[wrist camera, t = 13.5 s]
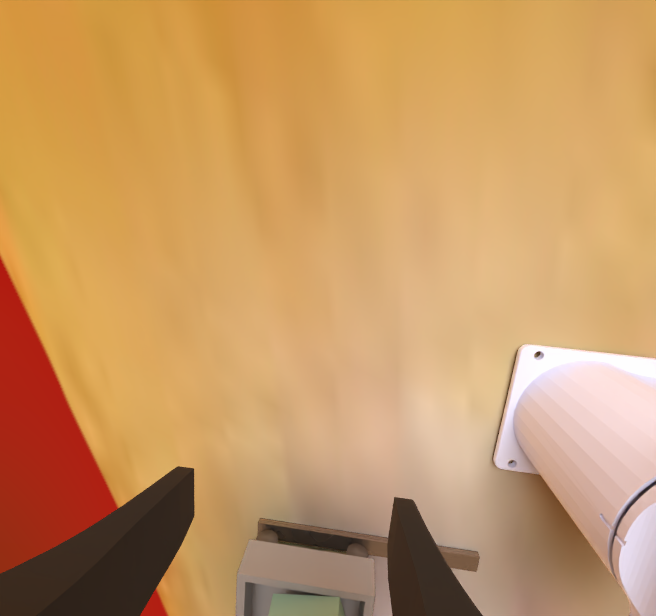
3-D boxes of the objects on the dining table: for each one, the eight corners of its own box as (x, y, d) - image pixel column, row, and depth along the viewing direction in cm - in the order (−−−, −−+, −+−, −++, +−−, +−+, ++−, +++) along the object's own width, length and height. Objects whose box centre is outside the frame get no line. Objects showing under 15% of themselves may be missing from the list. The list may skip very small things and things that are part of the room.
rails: (477, 551, 24) (479, 557, 23) (451, 662, 26) (453, 669, 26) (260, 518, 25) (258, 522, 24) (254, 627, 27) (252, 633, 27)
